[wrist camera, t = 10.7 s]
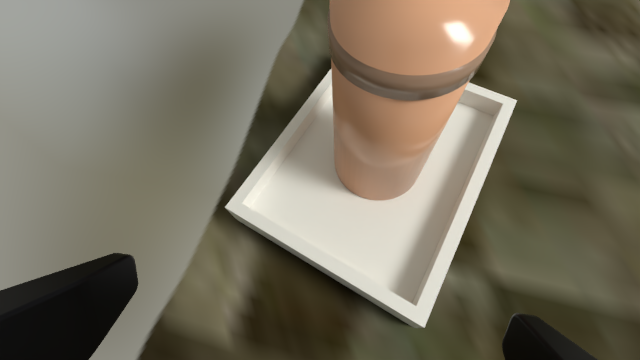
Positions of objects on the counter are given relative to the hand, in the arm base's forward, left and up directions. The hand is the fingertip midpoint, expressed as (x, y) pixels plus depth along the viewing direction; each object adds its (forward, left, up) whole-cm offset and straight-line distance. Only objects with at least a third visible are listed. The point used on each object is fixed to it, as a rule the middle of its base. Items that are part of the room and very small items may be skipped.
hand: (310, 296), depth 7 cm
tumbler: (+11, +2, -12) cm, 17 cm away
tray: (+11, +2, -13) cm, 18 cm away
